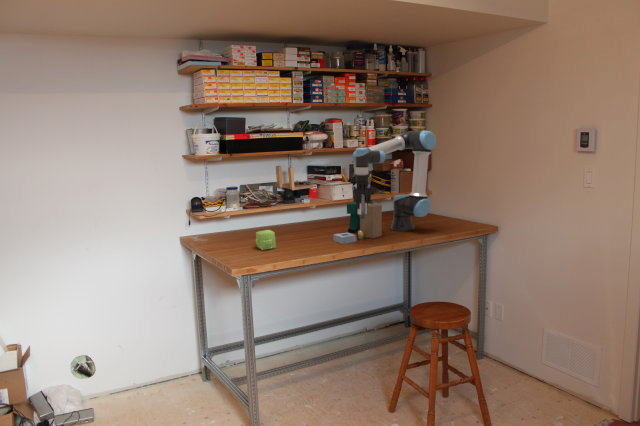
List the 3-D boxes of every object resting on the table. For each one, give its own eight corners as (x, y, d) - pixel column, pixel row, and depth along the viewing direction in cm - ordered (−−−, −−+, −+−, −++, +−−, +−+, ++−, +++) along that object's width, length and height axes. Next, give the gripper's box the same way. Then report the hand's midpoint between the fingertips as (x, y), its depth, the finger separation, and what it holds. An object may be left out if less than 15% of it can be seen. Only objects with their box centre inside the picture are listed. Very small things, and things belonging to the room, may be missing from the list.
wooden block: (368, 234, 331) (368, 203, 328) (382, 235, 325) (382, 204, 322) (359, 236, 324) (359, 205, 320) (373, 238, 317) (373, 206, 314)
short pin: (361, 237, 321) (361, 230, 320) (364, 238, 318) (364, 230, 317) (357, 238, 319) (357, 230, 318) (359, 239, 316) (359, 231, 315)
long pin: (362, 217, 310) (362, 194, 307) (365, 218, 307) (365, 194, 305) (358, 218, 308) (358, 194, 306) (361, 218, 305) (361, 195, 303)
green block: (252, 246, 307) (250, 230, 306) (268, 243, 311) (266, 228, 310) (261, 251, 291) (259, 235, 289) (277, 249, 295) (276, 232, 293)
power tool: (370, 226, 358) (369, 197, 354) (379, 227, 354) (379, 198, 351) (346, 234, 332) (345, 203, 329) (355, 235, 328) (355, 204, 325)
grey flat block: (347, 238, 319) (347, 232, 318) (356, 241, 310) (356, 235, 309) (333, 240, 314) (333, 234, 313) (342, 243, 305) (342, 237, 305)
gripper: (369, 173, 310) (369, 211, 314) (346, 174, 302) (347, 214, 306) (377, 174, 304) (377, 213, 308) (354, 175, 296) (354, 216, 300)
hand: (362, 213), depth 307 cm, fingers closed on long pin, 3 cm apart
